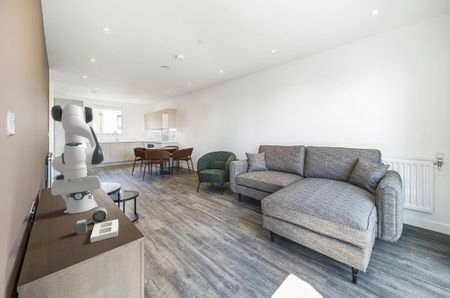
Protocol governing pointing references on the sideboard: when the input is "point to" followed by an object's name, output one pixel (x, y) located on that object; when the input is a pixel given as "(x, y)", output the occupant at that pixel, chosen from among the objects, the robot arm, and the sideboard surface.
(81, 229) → the plug
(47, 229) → the sideboard surface
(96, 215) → the ceramic mug
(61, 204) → the sideboard surface
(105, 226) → the outlet plate
